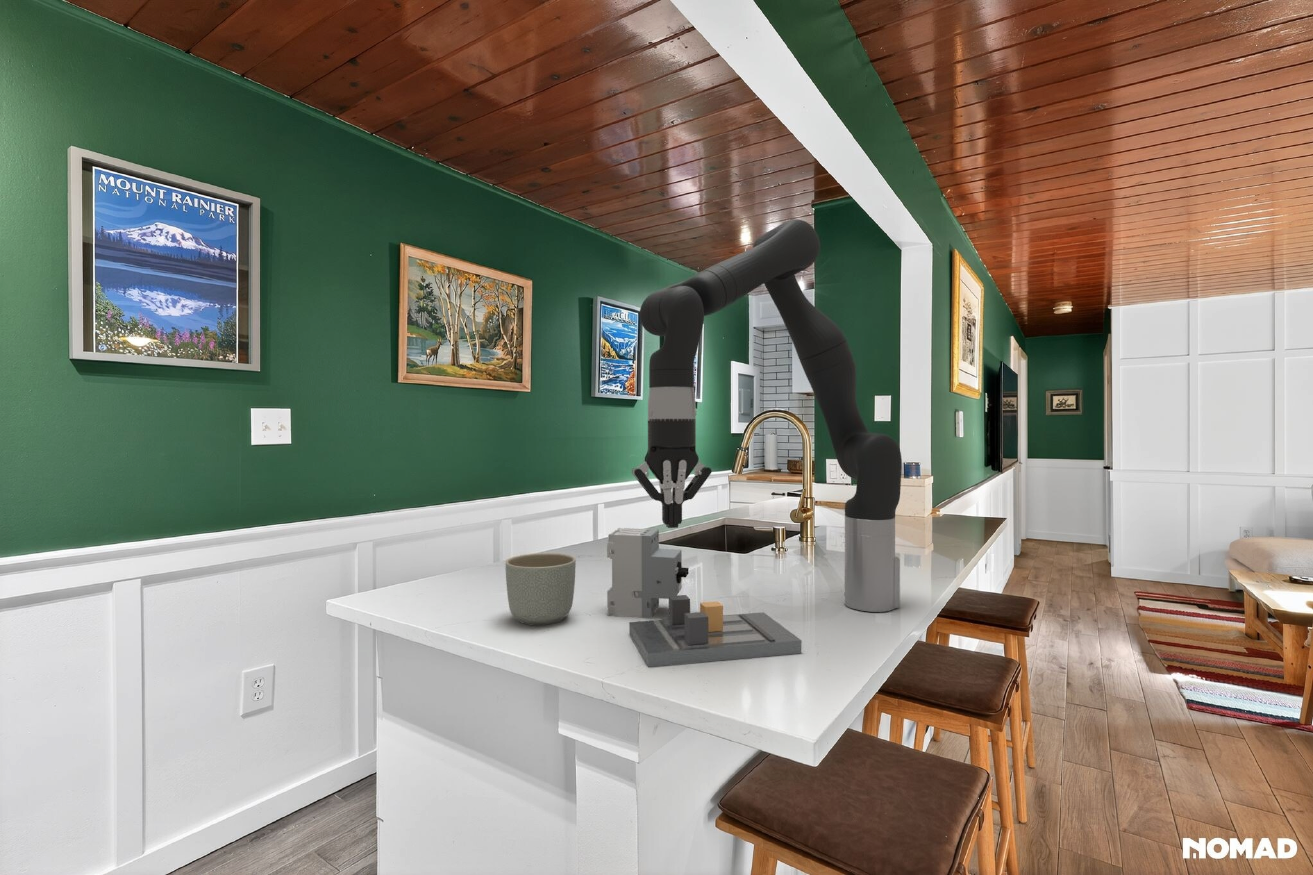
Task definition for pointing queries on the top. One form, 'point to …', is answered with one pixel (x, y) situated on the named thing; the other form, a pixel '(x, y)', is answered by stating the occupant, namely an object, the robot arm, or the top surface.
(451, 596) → the top surface
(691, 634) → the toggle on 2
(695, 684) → the top surface
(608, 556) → the circuit breaker
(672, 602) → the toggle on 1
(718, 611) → the toggle
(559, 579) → the planter
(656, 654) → the grey base plate
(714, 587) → the top surface
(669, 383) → the robot arm
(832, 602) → the top surface
